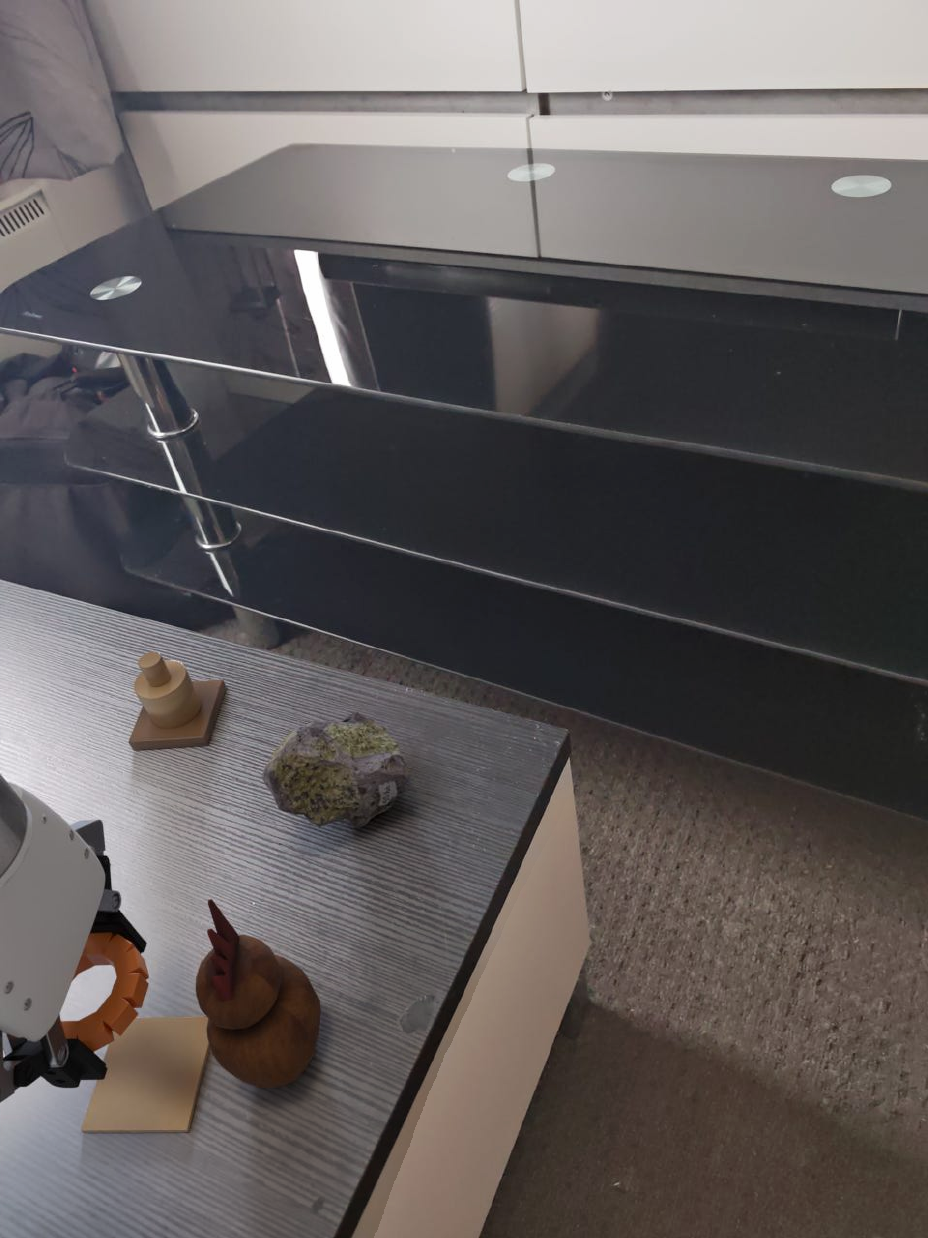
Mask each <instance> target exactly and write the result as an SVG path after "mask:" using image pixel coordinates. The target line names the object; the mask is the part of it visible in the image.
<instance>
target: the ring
mask: <svg viewBox="0 0 928 1238" xmlns="http://www.w3.org/2000/svg"><path fill="white" fill-rule="evenodd" d="M96 966H112V967H113V968H114V972H115V973H114V974H115V977H116V978H115V980H114V983H113V985H112V986H113V987H112V990H111V993H110V994H109V995H108V997H107V998H106V999H105V1000H104V1002H102V1004H100V1006H99V1007H98V1008H97V1010H96V1011H94V1012H92V1013H90V1014H88V1015H86V1016H85V1017H83V1018H81V1019H79V1020H61V1014H60V1013H61V1012H60V1013H59V1017H60V1020H61V1024H62V1027H63V1030H64V1033H65V1036H66V1039H71V1038H75V1039H79V1040H81V1041H82V1042H83V1043H84V1044H85V1045H86V1046H87V1047H88V1048H89V1049H90V1050H92V1051H93V1052H94V1053H95V1052H97V1051H98V1050H100V1049H102V1048H104V1047H106V1046H108V1045H109V1044H110V1043H111V1042H113V1041H114V1040H115V1039H114V1034H113V1031H114V1032H115V1033H116V1034H118V1035H119V1036H121V1035H122V1034H123V1032H124V1031H125V1030H126V1029H127V1028H128V1026H129V1025H130V1024H131V1023H132V1022H133V1020H134V1019H135V1018H138V1016H139V1014H140V1013H139V1012H138V1011H137V1010H136V1009H141V1008H143V1006H144V1002H145V1000H146V995H147V992H148V989H149V987H150V986H149V985H150V983H149V982H148V981H147V980H149V978H150V975H149V971H148V968H147V963H146V959H145V957H144V956H143V955H142V953H140V952H139V951H138V950H137V948H136V947H135V946H134V945H133V944H132V943H131V942H129V941H128V940H126V939H125V938H123V937H122V936H120V935H119V934H116V935H114V934H113V933H90V934H89V937H88V939H87V942H86V944H85V947H84V950H83V953H82V956H81V958H80V961H79V964H78V966H77V969H76V972H75V975H74V977H73V980H72V982H73V981H74V980H75V979H77V978H76V977H78V976H79V975H80V974H82V973H84V972H86V971H87V970H89V969H92V968H94V967H96Z"/></svg>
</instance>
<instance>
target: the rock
mask: <svg viewBox="0 0 928 1238" xmlns="http://www.w3.org/2000/svg"><path fill="white" fill-rule="evenodd" d="M260 778H261V779H262V782H263V783H264V785H265V787H266V788H267V789H268V790H269V792H270V793H271V795H272V797H273V799H274V801H275V804H276V806H277V808H278V809H279V810H280V811H282V812H284V813H288V814H292V815H295V816H300V815H301V816H302V815H303V816H304V817H305V818H306V819H307V820H308V821H309V823H310V824H312V825H314V826H317V827H319V828H320V827H324V826H326V825H330V824H332V823H333V824H334V823H337V822H340V821H344V820H345V819H346V820H347V821H348V823H349V824H350V825H351V826H353V827H354V828H358V829H360V828H362V827H364V826H367V825H368V823H370V821H371V820H372V819H373V818H375V817H376V816H377V815H380V814H382V813H385V812H386V811H388V810H389V809H390V808H392V807H393V805H394V803H395V801H396V799H397V797H400V796H402V795H403V794H404V793H405V792H406V789H407V786H408V782H409V780H410V774H409V769H408V766H407V764H406V762H405V759H404V755H403V754H402V752H401V751H400V748H399V741H398V740H397V739H396V738H394V736H392V735H391V734H390V733H389V732H388V729H386V728H385V726H383V725H380V724H378V723H377V722H376V721H375V719H374V718H370V717H369V718H368V717H366V716H365V715H361V713H359V712H358V711H356V712H352V713H351V714H348V715H347V716H346V717H345V718H344V719H342V720H340V721H339V720H338V721H337V720H324V722H321V721H317V720H313V721H312V722H309V723H305V724H304V725H300V726H298V727H296V728H295V729H293V731H292V732H291V733H287V735H286V736H285V738H284V739H283V740H282V742H281V743H280V744H279V746H276V748H275V750H274V751H273V753H272V756H271V757H270V758H269V759H268V761H267V764H266V765H265V766H264V767H263V771H262V774H261V775H260Z"/></svg>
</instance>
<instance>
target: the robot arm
mask: <svg viewBox="0 0 928 1238" xmlns="http://www.w3.org/2000/svg"><path fill="white" fill-rule="evenodd" d="M106 850H107V849H106V839H105V829H104V823H103V821H102V819H88V820H78V821H76V822H74V823H71V824H69V822H67V820H65V819H64V818H63V817H62V816H61V815H60V814H59V813H57V811H55V809H53V808H52V807H51V806H49V805H48V804H47V803H46V802H44V801H43V800H42V799H40V798H39V797H37V796H36V795H34V794H33V793H32V792H30V791H28V790H27V789H25V788H24V787H22V786H20V785H18V784H16V783H14V782H11V781H7V780H6V779H5V777H4V776H3V775H2V774H1V773H0V1104H1V1103H2V1102H4V1101H5V1100H6V1099H8V1098H10V1097H11V1096H13V1095H14V1094H15V1092H16V1091H17V1090H18V1089H20V1088H27V1087H29V1086H30V1085H32V1084H33V1083H34V1082H36V1081H37V1080H38V1079H39V1078H40V1077H41V1078H42V1079H44V1080H45V1081H46V1082H48V1084H50V1085H51V1086H52V1087H56V1088H59V1089H77V1088H80V1086H81V1082H82V1081H97V1080H103V1079H105V1076H106V1073H107V1069H108V1068H107V1067H106V1063H105V1062H103V1061H104V1060H103V1059H101V1058H100V1056H98V1055H97V1054H96V1053H95V1052H93V1051H92V1050H90V1049H89V1048H88V1047H87V1046H86V1045H85V1044H84V1043H83V1042H82V1041H81V1040H79V1039H75V1038H71V1039H66V1036H65V1033H64V1030H63V1027H62V1024H61V1021H62V1020H60V1019H61V1016H60V1017H59V1013H61V1011H62V1009H63V1006H64V1004H65V1001H66V999H67V996H68V993H69V991H70V988H71V985H72V983H73V981H74V980H73V977H74V975H75V972H76V969H77V966H78V964H79V961H80V958H81V956H82V953H83V950H84V947H85V944H86V942H87V939H88V937H89V934H90V933H113V934H114V935H116V934H119V935H120V936H122V937H123V938H125V939H126V940H128V941H129V942H131V943H132V944H133V945H134V946H135V947H136V948H137V950H138V951H139V952H140V953H141V954H144V953H145V950H146V947H147V944H148V943H147V941H146V940H145V939H144V937H143V936H142V935H141V934H140V933H139V932H138V930H137V929H136V928H135V926H134V925H133V924H132V923H131V922H130V920H129V919H128V918H127V917H126V916H125V914H124V913H123V912H122V911H121V910H120V908H121V906H122V895H121V893H120V892H119V891H118V890H114V889H113V885H112V884H113V883H112V871H111V870H112V869H111V867H112V864H111V859H110V858H109V856H108V855H106V854H105V851H106ZM72 980H73V981H72Z"/></svg>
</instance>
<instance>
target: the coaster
mask: <svg viewBox="0 0 928 1238" xmlns="http://www.w3.org/2000/svg"><path fill="white" fill-rule="evenodd" d="M207 1023H208V1017H207V1016H172V1017H171V1016H170V1017H169V1016H167V1017H166V1016H165V1017H136V1018H135V1019H134V1020H133V1022H132V1023H131V1024H130V1025H129V1026H128V1028H127V1029H126V1030H125V1031H124V1032H123V1034H122V1035H121V1036H119V1035H118V1034H116V1033H115V1032H114V1031H113V1034H114V1039H115V1040H114V1041H113V1042H111V1043H110V1044H108V1045H107V1049H106V1050H105V1051H106V1052H105V1054H104V1057H103V1060H102V1061H103V1062H105V1063H106V1067H107V1068H108V1069H107V1073H106V1076H105V1079H103V1080H96V1083H95V1085H94V1088H93V1091H92V1095H91V1097H90V1100H89V1104H88V1107H87V1109H86V1112H85V1115H84V1119H83V1122H82V1125H81V1128H80V1132H82V1133H83V1134H93V1133H94V1134H96V1133H97V1134H99V1133H103V1134H108V1133H109V1134H111V1133H113V1134H114V1133H115V1134H116V1133H117V1134H118V1133H122V1134H123V1133H125V1134H128V1133H132V1134H133V1133H134V1134H135V1133H190V1130H191V1126H192V1121H193V1117H194V1115H195V1110H196V1106H197V1101H198V1098H199V1094H200V1089H201V1085H202V1080H203V1077H204V1073H205V1069H206V1065H207V1061H208V1056H209V1053H210V1050H211V1049H210V1045H209V1042H208V1038H207V1030H206V1029H207Z"/></svg>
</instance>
